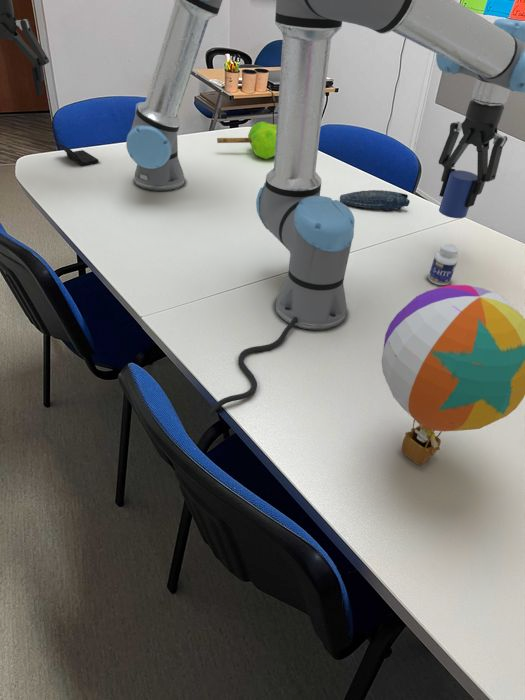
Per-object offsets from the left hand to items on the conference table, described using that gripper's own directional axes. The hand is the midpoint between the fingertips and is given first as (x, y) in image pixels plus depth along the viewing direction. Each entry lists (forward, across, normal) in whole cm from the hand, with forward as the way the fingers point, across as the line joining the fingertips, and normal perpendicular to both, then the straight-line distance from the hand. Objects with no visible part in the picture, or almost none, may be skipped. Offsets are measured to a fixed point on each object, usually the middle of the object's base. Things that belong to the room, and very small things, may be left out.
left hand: (13, 92), depth 133 cm
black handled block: (+26, +4, +28) cm, 39 cm away
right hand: (+12, +114, -17) cm, 116 cm away
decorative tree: (+26, +63, +49) cm, 84 cm away
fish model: (+26, +100, +10) cm, 104 cm away
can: (+15, +114, -17) cm, 117 cm away
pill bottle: (+26, +111, -32) cm, 118 cm away
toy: (+26, +94, -88) cm, 132 cm away
